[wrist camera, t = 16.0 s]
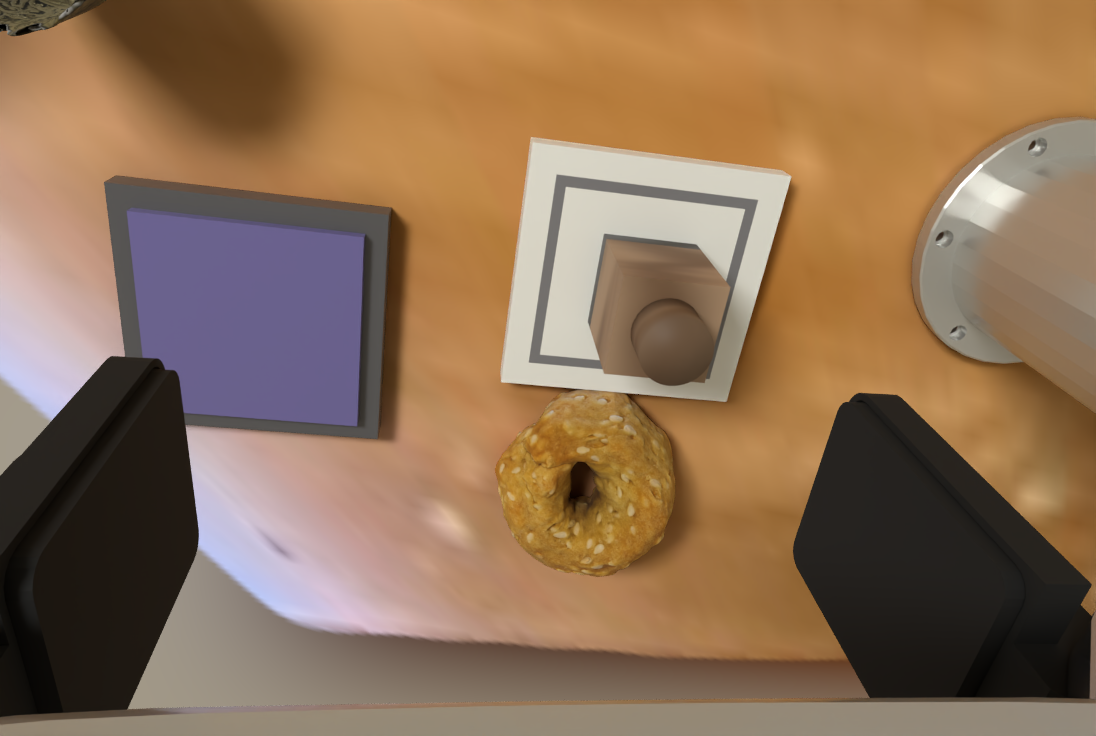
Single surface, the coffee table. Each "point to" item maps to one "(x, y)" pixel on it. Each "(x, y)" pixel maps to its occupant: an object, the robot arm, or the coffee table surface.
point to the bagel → (619, 474)
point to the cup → (39, 14)
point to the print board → (637, 211)
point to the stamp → (656, 309)
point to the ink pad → (255, 302)
